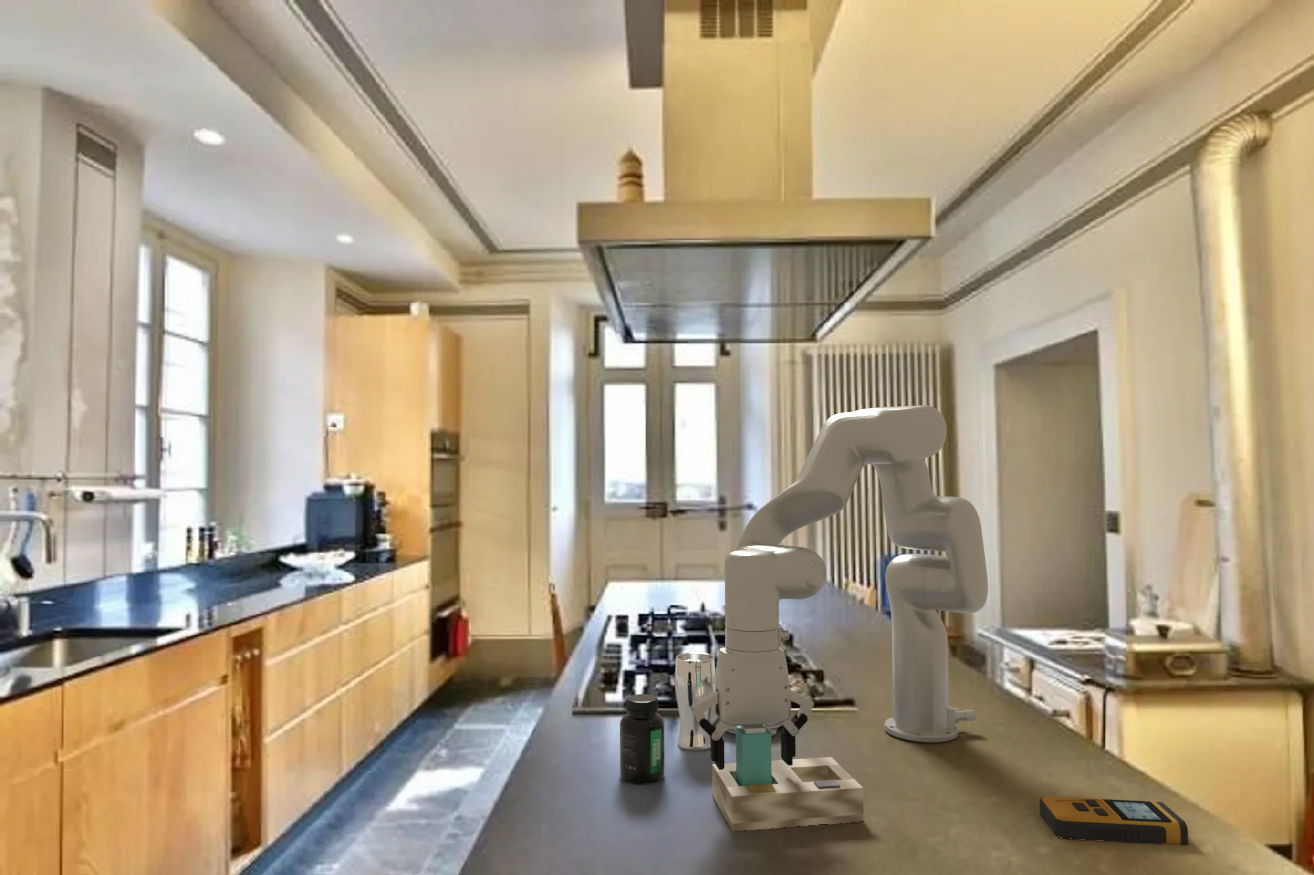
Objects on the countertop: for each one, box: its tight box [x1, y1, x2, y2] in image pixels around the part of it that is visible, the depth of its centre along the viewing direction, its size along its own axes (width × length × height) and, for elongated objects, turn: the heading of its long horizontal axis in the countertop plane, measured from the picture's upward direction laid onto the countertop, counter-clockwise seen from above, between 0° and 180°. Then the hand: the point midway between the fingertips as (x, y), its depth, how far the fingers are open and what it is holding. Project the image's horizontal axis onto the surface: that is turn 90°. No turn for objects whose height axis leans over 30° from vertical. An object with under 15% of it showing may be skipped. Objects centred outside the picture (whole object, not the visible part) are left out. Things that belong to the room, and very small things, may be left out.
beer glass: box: [674, 652, 716, 752], centre depth 143 cm, size 7×7×15 cm
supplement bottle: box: [619, 693, 665, 785], centre depth 128 cm, size 7×7×12 cm
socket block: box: [711, 756, 865, 832], centre depth 116 cm, size 18×12×5 cm, turn 99°
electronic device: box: [1039, 796, 1189, 846], centre depth 109 cm, size 8×16×3 cm, turn 82°
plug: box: [735, 724, 772, 786], centre depth 116 cm, size 4×4×11 cm
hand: (753, 764), depth 115 cm, fingers open, 9 cm apart
